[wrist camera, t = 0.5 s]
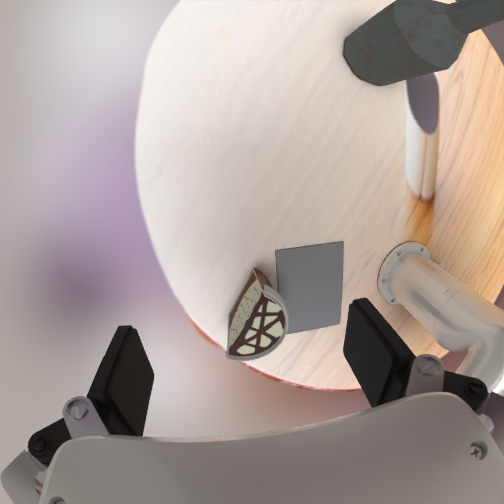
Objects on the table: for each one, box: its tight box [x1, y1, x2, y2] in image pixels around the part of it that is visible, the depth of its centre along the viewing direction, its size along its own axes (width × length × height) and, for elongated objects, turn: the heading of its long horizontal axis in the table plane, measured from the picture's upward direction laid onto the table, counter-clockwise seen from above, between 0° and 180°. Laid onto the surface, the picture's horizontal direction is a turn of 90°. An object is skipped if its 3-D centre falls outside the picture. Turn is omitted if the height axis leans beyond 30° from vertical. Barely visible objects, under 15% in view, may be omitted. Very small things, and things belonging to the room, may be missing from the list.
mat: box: [275, 241, 344, 334], centre depth 44 cm, size 11×16×1 cm
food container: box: [226, 268, 288, 361], centre depth 39 cm, size 12×6×10 cm, turn 154°
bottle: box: [344, 0, 504, 86], centre depth 17 cm, size 10×10×30 cm
